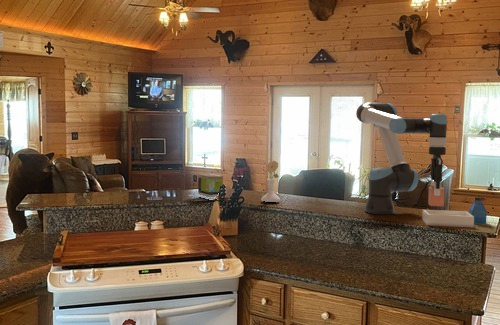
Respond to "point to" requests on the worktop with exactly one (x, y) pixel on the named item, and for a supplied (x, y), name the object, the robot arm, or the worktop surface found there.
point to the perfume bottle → (478, 211)
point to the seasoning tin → (436, 197)
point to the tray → (448, 218)
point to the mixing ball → (432, 184)
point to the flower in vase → (271, 183)
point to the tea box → (209, 184)
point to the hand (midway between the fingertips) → (435, 194)
